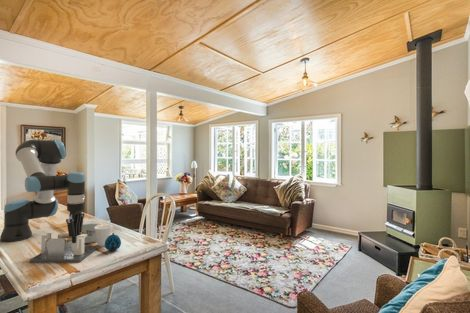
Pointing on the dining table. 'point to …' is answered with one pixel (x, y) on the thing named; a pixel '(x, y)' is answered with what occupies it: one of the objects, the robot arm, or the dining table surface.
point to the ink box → (89, 230)
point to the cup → (102, 233)
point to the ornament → (112, 242)
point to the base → (64, 258)
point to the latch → (80, 245)
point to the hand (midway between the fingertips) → (75, 248)
